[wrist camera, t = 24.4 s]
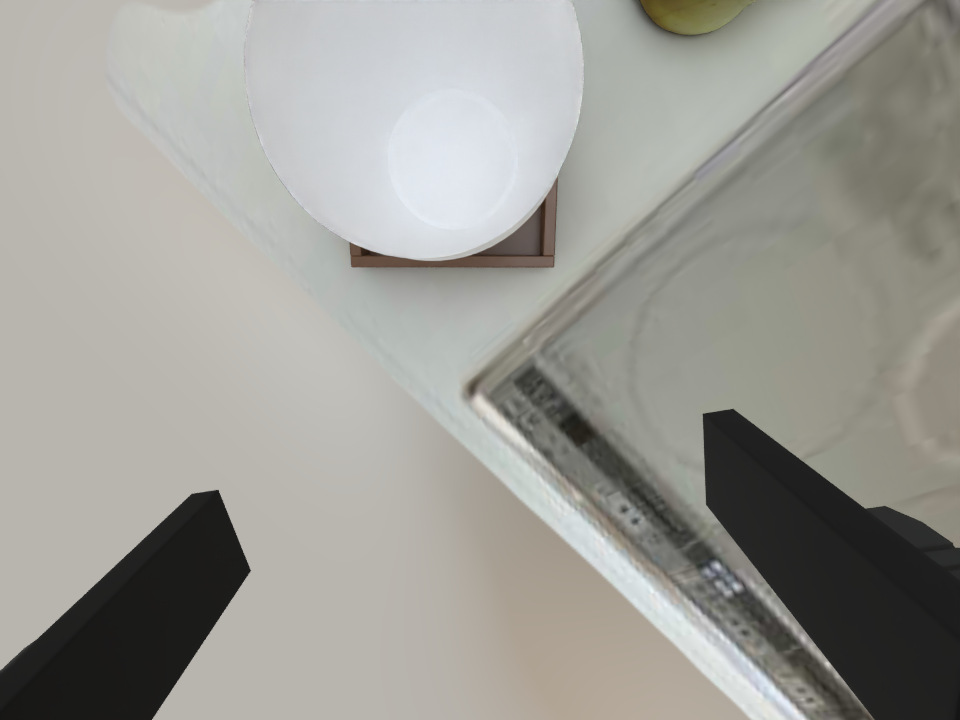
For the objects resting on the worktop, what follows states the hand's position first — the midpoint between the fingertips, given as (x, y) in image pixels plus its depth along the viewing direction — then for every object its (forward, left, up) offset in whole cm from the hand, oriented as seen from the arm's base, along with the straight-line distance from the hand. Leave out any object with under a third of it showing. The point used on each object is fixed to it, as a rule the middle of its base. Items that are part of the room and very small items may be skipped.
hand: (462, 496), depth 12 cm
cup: (-12, -2, -25) cm, 28 cm away
